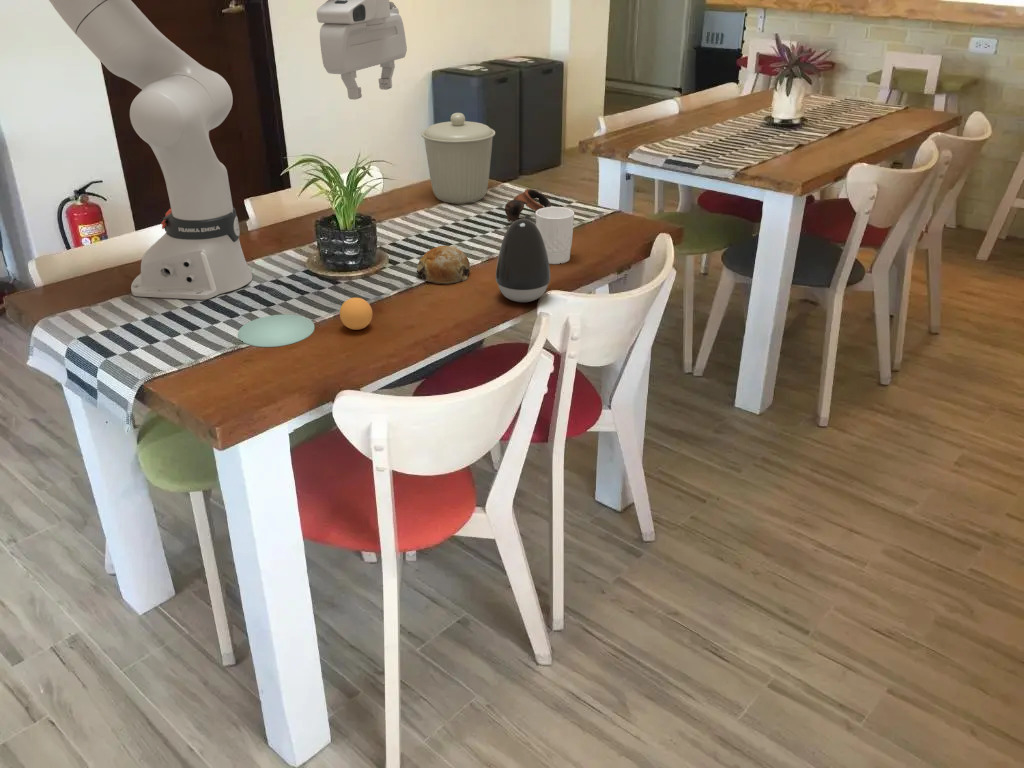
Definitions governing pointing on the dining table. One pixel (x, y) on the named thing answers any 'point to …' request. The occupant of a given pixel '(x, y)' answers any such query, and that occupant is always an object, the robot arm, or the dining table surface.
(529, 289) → the dark grey egg shape
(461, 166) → the canister
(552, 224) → the white cup
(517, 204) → the brown curved piece
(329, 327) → the dining table surface
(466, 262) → the bread roll
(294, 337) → the teal disc
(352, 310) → the ball
